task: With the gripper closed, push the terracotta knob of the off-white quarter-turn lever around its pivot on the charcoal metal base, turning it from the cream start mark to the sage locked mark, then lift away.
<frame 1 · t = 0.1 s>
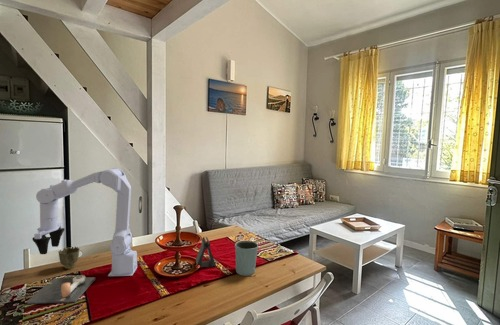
hand: (49, 250, 108), 10 cm above the table, tool pointing down, fingers open, 7 cm apart
cup: (69, 268, 114), on the table
lock base: (79, 285, 101), on the table
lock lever: (73, 282, 96), point 3 cm above the table, hinge at 0.0°
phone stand: (205, 265, 122), on the table
green tumbler: (245, 271, 118), on the table
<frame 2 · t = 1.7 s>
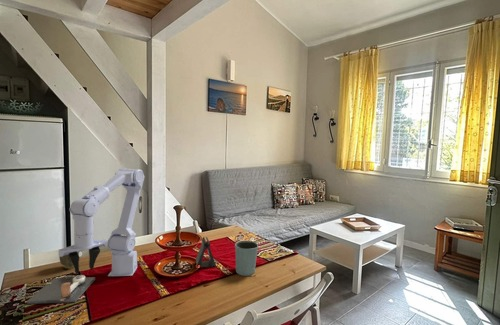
hand: (84, 270, 94), 9 cm above the table, tool pointing down, fingers open, 4 cm apart
nothing on the table moved.
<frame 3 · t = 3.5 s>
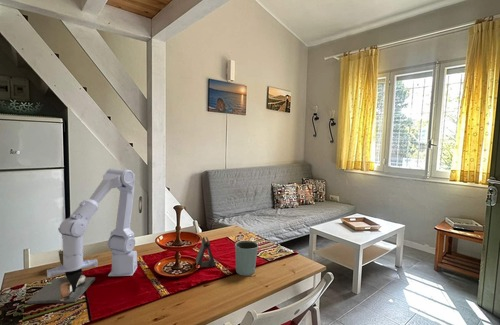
hand: (73, 290, 92), 3 cm above the table, tool pointing down, fingers closed
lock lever: (73, 282, 96), point 3 cm above the table, hinge at 1.4°, touching gripper
everything else where it was.
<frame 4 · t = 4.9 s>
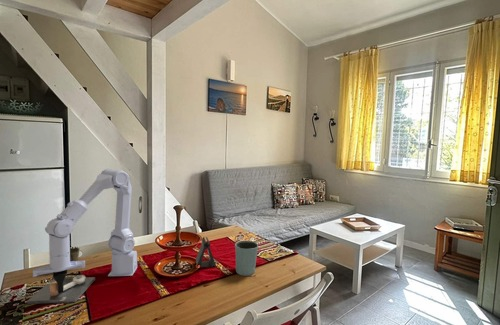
hand: (60, 291, 92), 3 cm above the table, tool pointing down, fingers closed, pressing on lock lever
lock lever: (68, 282, 97), point 3 cm above the table, hinge at 28.2°, touching gripper
everything else where it was.
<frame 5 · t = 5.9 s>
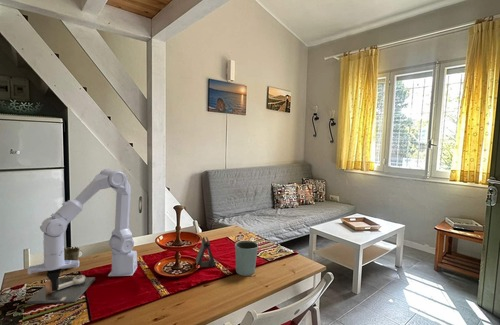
hand: (55, 289, 93), 3 cm above the table, tool pointing down, fingers closed, pressing on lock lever
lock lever: (66, 280, 97), point 3 cm above the table, hinge at 47.5°, touching gripper
everything else where it was.
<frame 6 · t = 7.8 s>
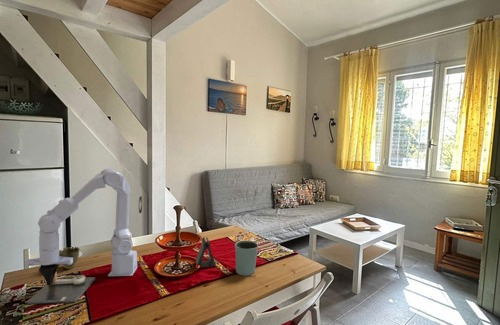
hand: (49, 283, 96), 3 cm above the table, tool pointing down, fingers closed, pressing on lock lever
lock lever: (66, 277, 100), point 3 cm above the table, hinge at 86.9°, touching gripper
everything else where it was.
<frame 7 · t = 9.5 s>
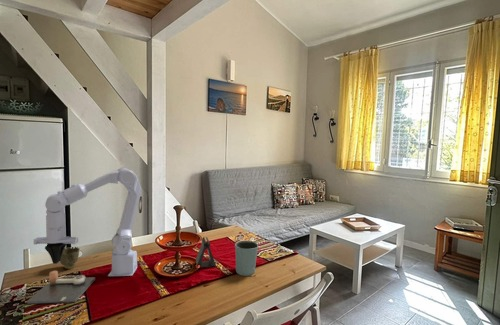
hand: (56, 262, 99), 9 cm above the table, tool pointing down, fingers closed
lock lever: (67, 277, 100), point 3 cm above the table, hinge at 91.3°
everything else where it was.
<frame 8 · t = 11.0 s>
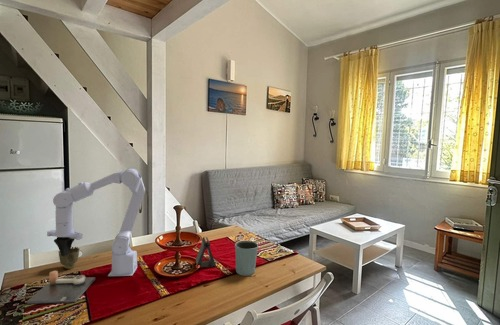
hand: (64, 255, 105), 9 cm above the table, tool pointing down, fingers closed
nothing on the table moved.
at the end: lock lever at +91° (first picture: +0°); the gripper is holding nothing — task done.
